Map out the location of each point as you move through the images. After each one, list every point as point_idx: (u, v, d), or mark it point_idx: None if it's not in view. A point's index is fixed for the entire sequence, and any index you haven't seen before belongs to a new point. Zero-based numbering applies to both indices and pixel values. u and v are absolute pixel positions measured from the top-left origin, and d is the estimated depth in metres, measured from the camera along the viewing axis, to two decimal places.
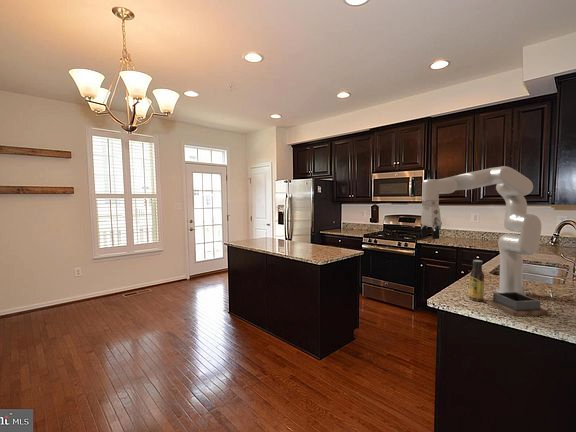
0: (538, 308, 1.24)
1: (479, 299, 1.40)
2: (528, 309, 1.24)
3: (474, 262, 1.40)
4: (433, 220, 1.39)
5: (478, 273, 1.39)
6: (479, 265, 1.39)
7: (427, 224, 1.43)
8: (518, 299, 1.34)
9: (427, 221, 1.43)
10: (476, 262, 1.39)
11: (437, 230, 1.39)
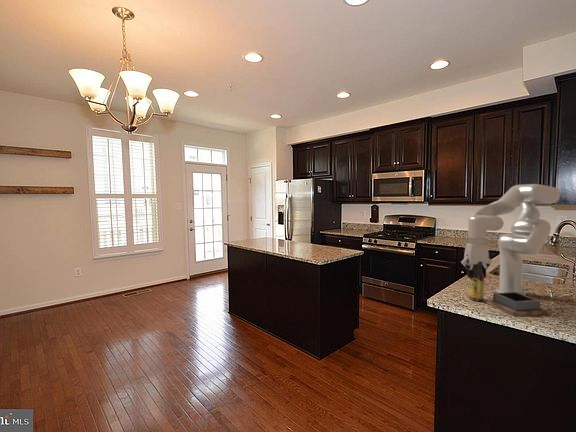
0: (538, 308, 1.24)
1: (479, 299, 1.40)
2: (528, 309, 1.24)
3: None
4: None
5: (478, 273, 1.39)
6: (479, 265, 1.39)
7: (482, 262, 1.39)
8: (518, 299, 1.34)
9: (482, 259, 1.39)
10: None
11: None
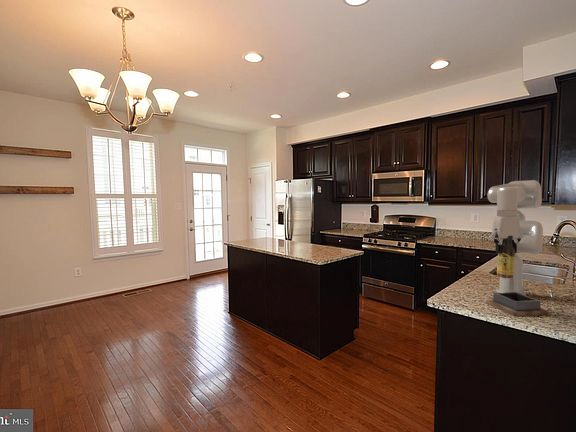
0: (538, 308, 1.24)
1: (509, 276, 1.30)
2: (528, 309, 1.24)
3: None
4: None
5: (508, 248, 1.29)
6: (509, 239, 1.29)
7: None
8: (518, 299, 1.34)
9: (513, 233, 1.29)
10: None
11: None
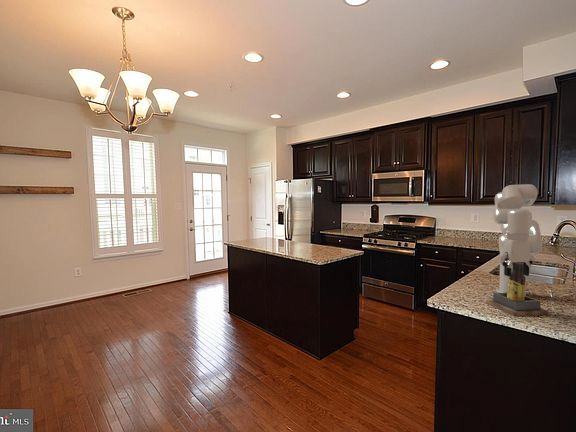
0: (538, 308, 1.24)
1: None
2: (528, 309, 1.24)
3: (514, 264, 1.28)
4: None
5: (519, 276, 1.27)
6: (520, 268, 1.27)
7: (523, 260, 1.27)
8: None
9: (524, 257, 1.27)
10: (517, 265, 1.27)
11: None
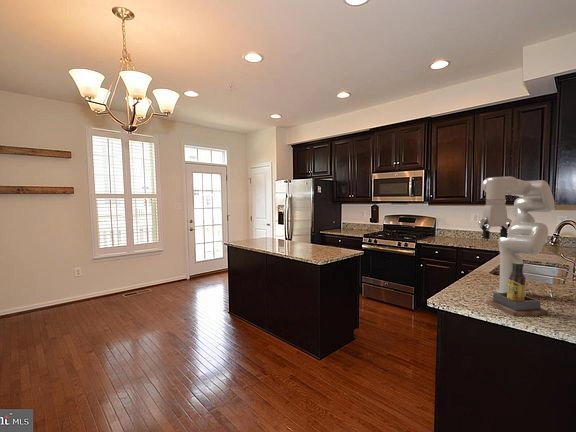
0: (538, 308, 1.24)
1: None
2: (528, 309, 1.24)
3: (514, 264, 1.28)
4: None
5: (519, 276, 1.27)
6: (520, 267, 1.27)
7: (501, 224, 1.36)
8: None
9: (501, 221, 1.36)
10: (517, 265, 1.27)
11: None
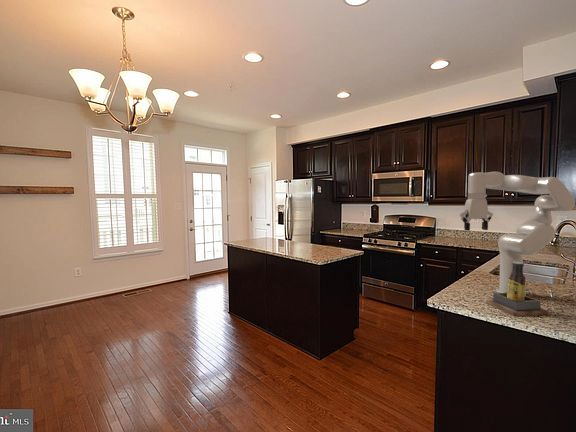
0: (538, 308, 1.24)
1: None
2: (528, 309, 1.24)
3: (514, 264, 1.28)
4: None
5: (519, 276, 1.27)
6: (520, 267, 1.27)
7: (481, 217, 1.44)
8: None
9: (482, 214, 1.44)
10: (517, 265, 1.27)
11: None
